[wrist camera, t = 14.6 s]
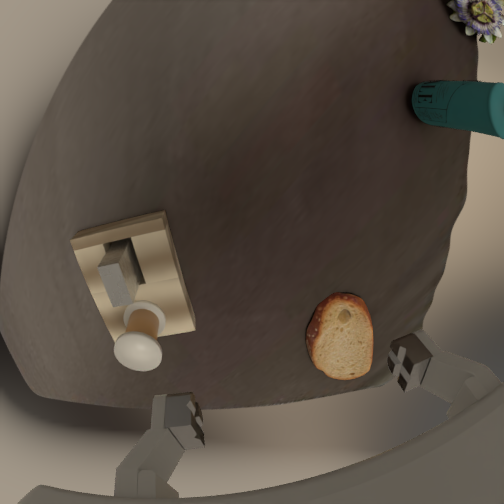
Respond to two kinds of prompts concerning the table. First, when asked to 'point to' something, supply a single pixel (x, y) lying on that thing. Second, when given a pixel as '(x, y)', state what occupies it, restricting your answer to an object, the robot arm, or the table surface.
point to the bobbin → (141, 336)
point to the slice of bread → (341, 337)
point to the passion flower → (479, 17)
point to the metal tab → (120, 272)
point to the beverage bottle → (461, 105)
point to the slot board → (152, 265)
